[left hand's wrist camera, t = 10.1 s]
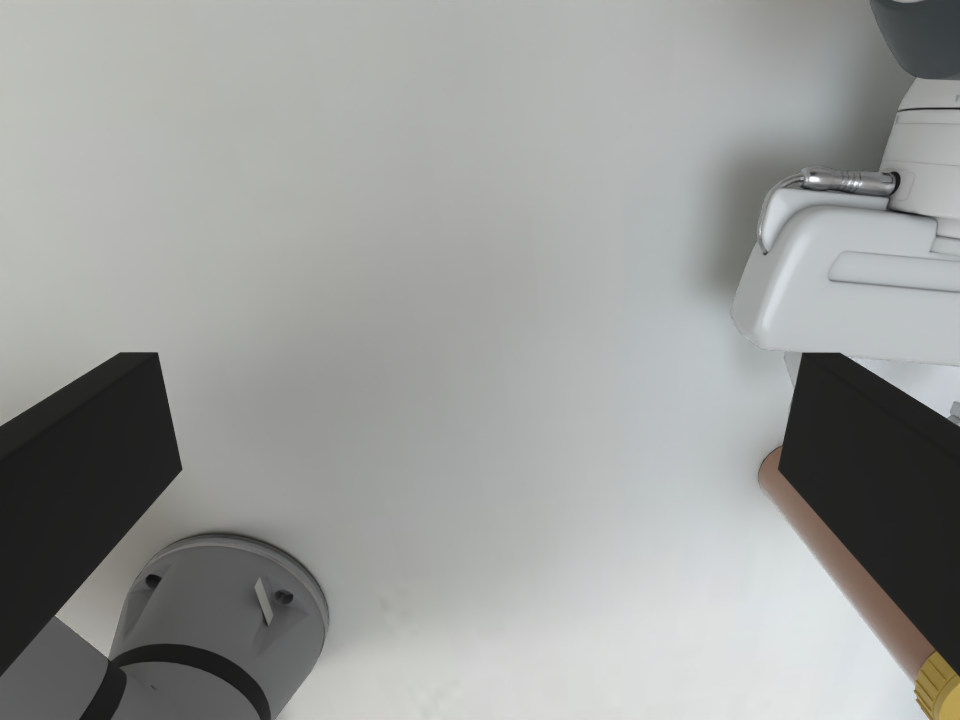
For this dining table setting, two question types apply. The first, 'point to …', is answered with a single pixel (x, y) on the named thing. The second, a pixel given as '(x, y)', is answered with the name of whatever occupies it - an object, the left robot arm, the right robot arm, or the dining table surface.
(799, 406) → the left robot arm
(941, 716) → the lid
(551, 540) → the dining table surface
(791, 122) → the dining table surface
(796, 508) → the bottle
